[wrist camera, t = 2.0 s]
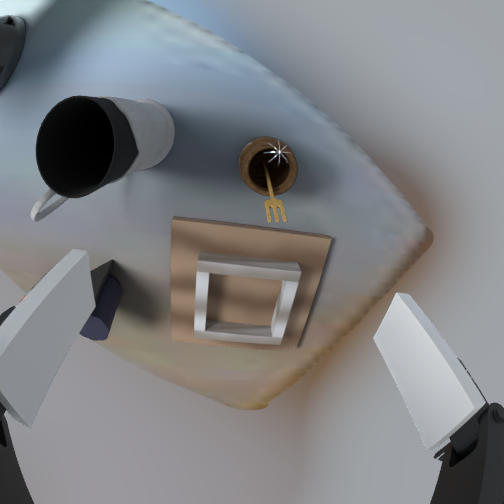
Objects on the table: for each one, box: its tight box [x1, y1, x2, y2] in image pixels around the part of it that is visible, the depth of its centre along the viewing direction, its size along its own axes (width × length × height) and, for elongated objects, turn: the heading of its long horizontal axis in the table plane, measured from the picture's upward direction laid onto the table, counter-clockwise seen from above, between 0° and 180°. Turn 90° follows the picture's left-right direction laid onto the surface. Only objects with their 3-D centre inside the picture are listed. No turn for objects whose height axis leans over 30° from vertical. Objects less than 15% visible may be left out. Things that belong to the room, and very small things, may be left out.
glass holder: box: [30, 96, 175, 221], centre depth 22 cm, size 9×14×15 cm, turn 127°
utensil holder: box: [239, 137, 298, 222], centre depth 25 cm, size 6×6×12 cm
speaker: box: [79, 260, 123, 340], centre depth 33 cm, size 8×6×10 cm
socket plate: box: [171, 216, 332, 351], centre depth 37 cm, size 20×20×4 cm
